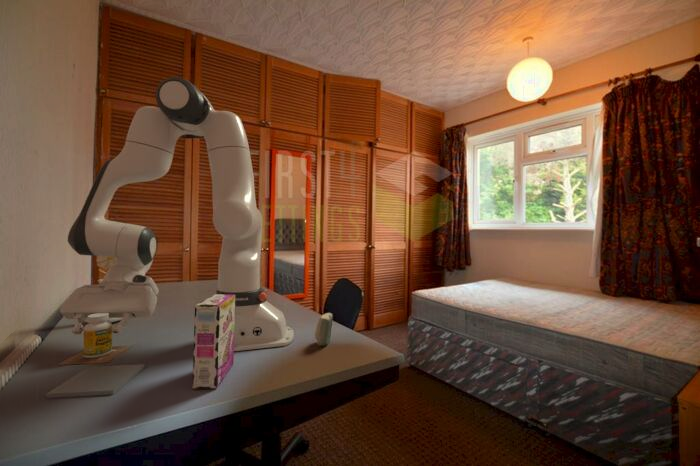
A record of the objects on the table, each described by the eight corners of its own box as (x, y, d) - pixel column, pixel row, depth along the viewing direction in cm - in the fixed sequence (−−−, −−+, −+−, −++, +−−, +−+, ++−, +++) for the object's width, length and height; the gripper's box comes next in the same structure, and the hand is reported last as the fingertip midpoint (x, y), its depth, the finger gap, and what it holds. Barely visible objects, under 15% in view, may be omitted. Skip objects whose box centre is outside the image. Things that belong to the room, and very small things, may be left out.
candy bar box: (218, 389, 59) (219, 305, 59) (191, 390, 58) (192, 305, 58) (235, 364, 70) (236, 293, 70) (212, 364, 70) (213, 293, 69)
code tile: (132, 346, 79) (132, 345, 79) (107, 362, 69) (107, 362, 69) (89, 347, 78) (89, 347, 78) (58, 364, 68) (58, 364, 68)
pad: (144, 367, 67) (144, 364, 67) (113, 394, 56) (113, 390, 56) (89, 370, 66) (89, 366, 66) (46, 398, 55) (46, 393, 55)
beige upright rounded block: (337, 346, 82) (337, 316, 82) (318, 349, 80) (319, 318, 80) (330, 339, 87) (330, 311, 87) (312, 341, 85) (313, 313, 85)
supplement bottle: (101, 348, 77) (101, 311, 77) (117, 351, 76) (118, 312, 76) (77, 357, 72) (77, 316, 72) (94, 360, 70) (95, 318, 70)
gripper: (72, 278, 79) (39, 327, 69) (157, 277, 82) (137, 325, 72) (84, 291, 83) (55, 340, 74) (165, 291, 86) (146, 337, 77)
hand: (96, 332), depth 73 cm, fingers open, 7 cm apart
